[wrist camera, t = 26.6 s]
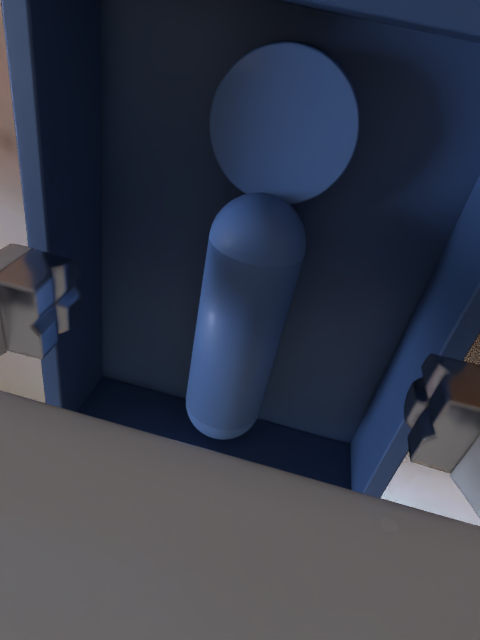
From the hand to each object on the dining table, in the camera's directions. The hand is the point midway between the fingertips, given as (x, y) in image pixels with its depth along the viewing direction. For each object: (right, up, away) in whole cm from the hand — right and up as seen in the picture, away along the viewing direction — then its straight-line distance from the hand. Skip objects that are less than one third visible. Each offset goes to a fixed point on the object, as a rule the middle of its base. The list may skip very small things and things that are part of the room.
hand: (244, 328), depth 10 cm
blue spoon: (0, +2, +3) cm, 4 cm away
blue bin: (+1, +2, +4) cm, 4 cm away
